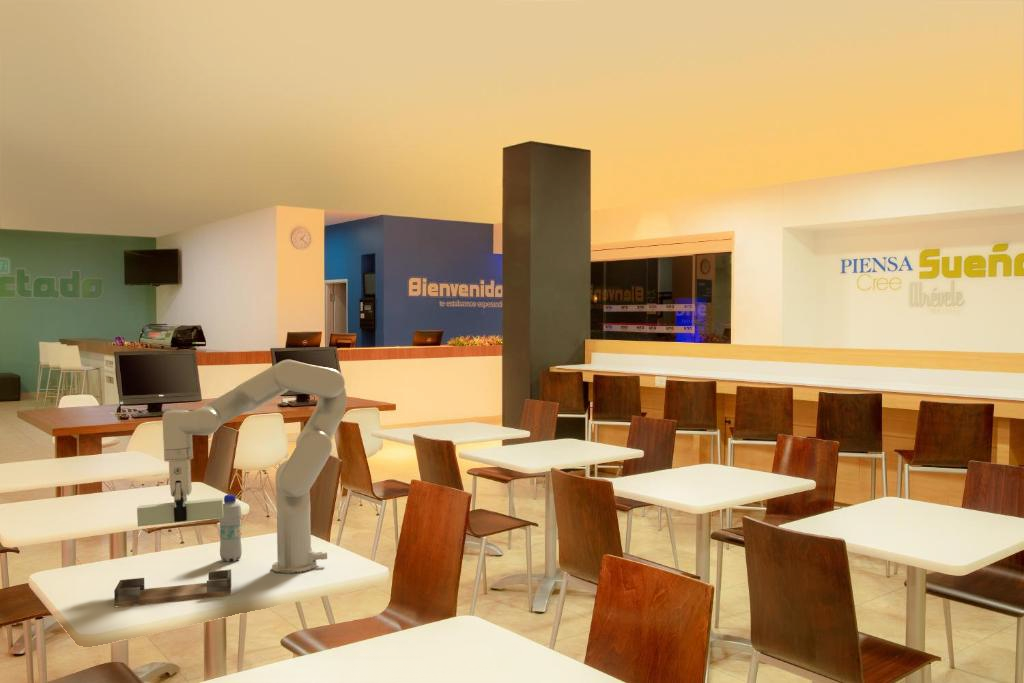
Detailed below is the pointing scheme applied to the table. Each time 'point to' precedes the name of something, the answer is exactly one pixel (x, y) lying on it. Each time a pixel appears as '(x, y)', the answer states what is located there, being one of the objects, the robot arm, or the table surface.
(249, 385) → the robot arm
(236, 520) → the bottle
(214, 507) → the slat
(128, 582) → the cradle
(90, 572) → the table surface
